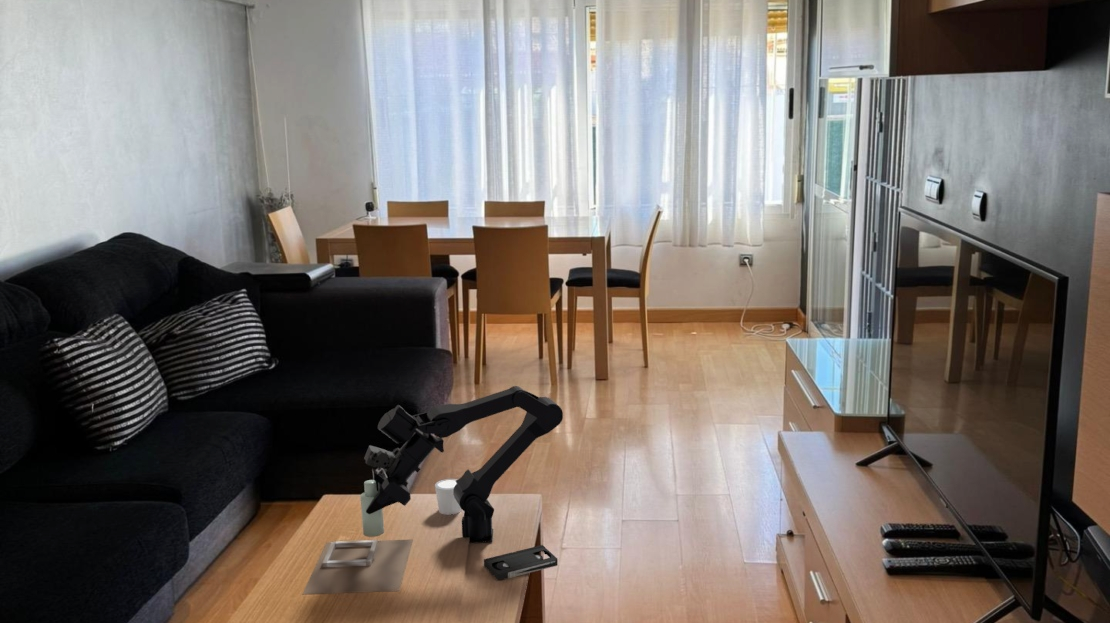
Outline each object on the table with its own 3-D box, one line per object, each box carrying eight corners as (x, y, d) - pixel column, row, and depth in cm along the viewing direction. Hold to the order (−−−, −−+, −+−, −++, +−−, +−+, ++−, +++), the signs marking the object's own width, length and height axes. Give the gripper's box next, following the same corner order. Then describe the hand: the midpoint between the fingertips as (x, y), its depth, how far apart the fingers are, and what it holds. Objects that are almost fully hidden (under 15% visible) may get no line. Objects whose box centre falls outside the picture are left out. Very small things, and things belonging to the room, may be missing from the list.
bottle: (388, 530, 222) (384, 480, 220) (375, 538, 218) (372, 487, 216) (371, 526, 224) (367, 476, 222) (359, 534, 220) (355, 484, 218)
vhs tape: (498, 583, 209) (498, 574, 209) (484, 567, 216) (483, 559, 216) (558, 567, 215) (558, 559, 215) (542, 553, 222) (542, 544, 222)
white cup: (466, 504, 249) (465, 478, 247) (461, 516, 242) (459, 489, 240) (439, 504, 249) (438, 478, 248) (433, 515, 243) (432, 489, 241)
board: (413, 543, 228) (412, 535, 227) (399, 595, 204) (398, 586, 204) (326, 546, 228) (325, 538, 227) (302, 598, 204) (301, 590, 204)
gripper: (378, 421, 226) (332, 473, 225) (392, 447, 209) (343, 504, 208) (414, 449, 230) (369, 500, 229) (430, 477, 213) (382, 533, 212)
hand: (365, 508), depth 220 cm, fingers closed on bottle, 5 cm apart
